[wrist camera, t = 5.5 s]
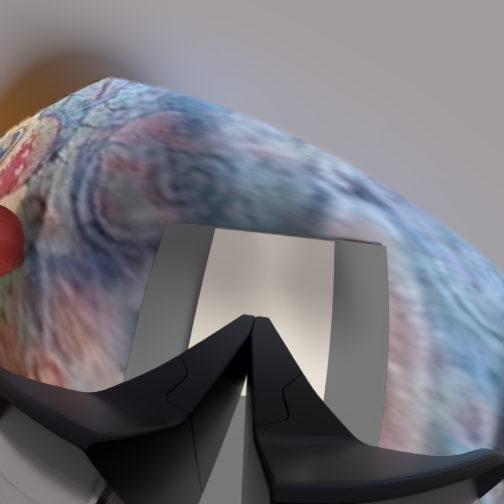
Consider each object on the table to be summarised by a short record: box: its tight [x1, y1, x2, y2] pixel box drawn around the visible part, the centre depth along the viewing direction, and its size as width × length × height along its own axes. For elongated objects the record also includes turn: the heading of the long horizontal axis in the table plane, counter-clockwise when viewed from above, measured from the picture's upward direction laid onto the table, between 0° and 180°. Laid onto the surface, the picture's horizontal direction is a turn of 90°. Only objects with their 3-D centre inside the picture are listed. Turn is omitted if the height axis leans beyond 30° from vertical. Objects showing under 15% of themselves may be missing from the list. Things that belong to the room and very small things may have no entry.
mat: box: [124, 222, 389, 504], centre depth 14 cm, size 20×15×1 cm
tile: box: [188, 228, 334, 400], centre depth 15 cm, size 2×7×9 cm
